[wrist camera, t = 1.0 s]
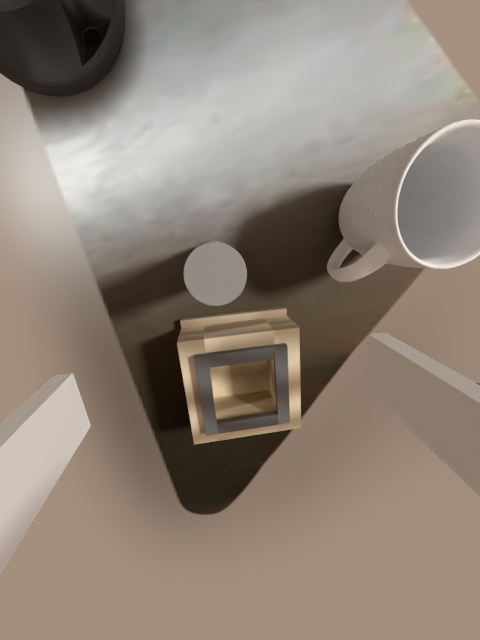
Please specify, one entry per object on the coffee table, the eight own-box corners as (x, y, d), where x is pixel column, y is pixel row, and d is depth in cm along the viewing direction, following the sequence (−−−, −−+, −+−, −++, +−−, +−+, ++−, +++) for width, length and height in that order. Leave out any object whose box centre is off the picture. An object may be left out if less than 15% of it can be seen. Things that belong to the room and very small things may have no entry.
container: (199, 283, 33) (193, 315, 18) (188, 246, 31) (172, 249, 17) (235, 274, 33) (255, 298, 19) (225, 237, 31) (239, 232, 17)
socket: (180, 318, 34) (174, 336, 27) (284, 306, 35) (301, 321, 28) (197, 419, 38) (195, 455, 32) (287, 406, 40) (303, 438, 33)
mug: (338, 298, 36) (408, 328, 23) (283, 243, 32) (330, 243, 20) (419, 212, 33) (544, 195, 21) (369, 145, 30) (480, 78, 18)
